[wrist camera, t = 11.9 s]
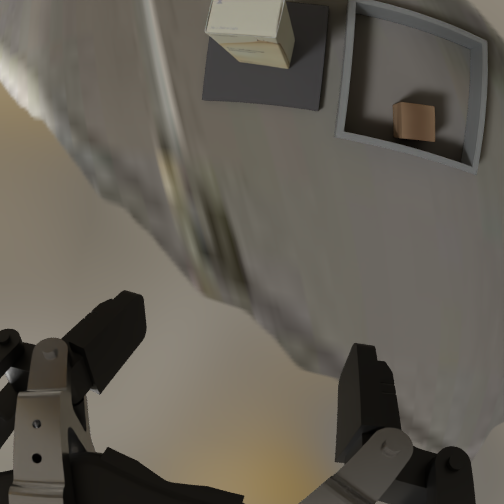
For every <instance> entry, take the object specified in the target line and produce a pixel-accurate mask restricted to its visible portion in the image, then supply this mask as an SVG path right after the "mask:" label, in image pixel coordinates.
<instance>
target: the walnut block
mask: <svg viewBox="0 0 504 504" xmlns="http://www.w3.org/2000/svg"><path fill="white" fill-rule="evenodd" d="M393 133H394V138H404V139H414V140H423V141H431V142H435V108H434V106H428V105H421V104H414V103H405V102H400V103H397V104H394V105H393Z"/></svg>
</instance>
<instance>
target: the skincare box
mask: <svg viewBox="0 0 504 504" xmlns="http://www.w3.org/2000/svg"><path fill="white" fill-rule="evenodd" d="M205 33H207V34H208V35H209V36H210V37H211V38H213V39H214V40H215V41H216V42H217V43H218V44H220V45H221V46H222V47H223V48H224V49H225V50H226V51H228V52H229V53H230V54H231V55H232V56H233V57H234V58H235V59H237V60H238V61H239V62H243V63H251V64H258V65H265V66H272V67H278V68H285V69H289V66H290V62H291V57H292V53H293V48H294V42H295V38H294V34H293V29H292V25H291V21H290V17H289V13H288V9H287V5H286V1H285V0H212V2H211V5H210V9H209V13H208V17H207V22H206V27H205Z"/></svg>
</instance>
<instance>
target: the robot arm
mask: <svg viewBox="0 0 504 504" xmlns="http://www.w3.org/2000/svg"><path fill="white" fill-rule="evenodd" d="M145 334H146V317H145V308H144V299H143V296H142V295H140V294H136V293H133V292H129V291H126V290H124V291H122V292H121V293H120V294H119V295H118V296H116V297H115V298H114V299H109V300H107V301H105V302H103V303H100V304H99V305H98V306H97V307H96V308H94V309H93V310H92V312H91V313H89V314H88V315H87V316H86V317H85V319H84V318H83V319H82V320H81V321H80V322H79V323H78V324H77V325H76V326H75V327H73V328H72V329H71V330H70V331H69V332H68V333H67V334H66V335H65V336H64V337H63V338H62V339H59V338H47V339H44V340H42V341H40V342H39V343H38V344H37V345H33V344H29V343H24V342H22V340H21V337H20V335H19V333H18V332H17V331H16V330H14V329H4V330H1V331H0V378H1V377H2V376H3V375H4V374H5V375H6V377H7V379H8V381H9V382H8V383H7V385H6V386H5V387H4V388H3V389H2V390H1V391H0V448H1V447H2V445H3V444H4V443H5V441H6V440H7V439H8V437H9V436H10V434H11V433H12V432H13V430H14V450H13V470H10V471H5V472H0V504H244V503H242V502H243V499H244V496H243V495H239V494H235V493H230V492H227V491H223V490H219V489H215V488H212V487H208V486H198V485H188V484H180V483H172V482H168V481H166V480H164V479H162V478H161V477H160V476H158V475H157V474H155V473H153V472H152V471H151V470H149V469H148V468H147V467H145V466H144V465H142V464H141V463H140V462H138V461H137V460H135V459H132V458H130V457H128V456H126V455H124V454H121V453H119V452H117V451H115V450H113V449H111V448H109V447H107V449H106V450H105V452H104V453H97V452H95V448H94V446H93V443H92V440H91V434H90V426H89V416H88V405H87V404H88V403H87V396H86V393H87V392H88V391H89V390H91V391H93V392H95V393H97V394H101V393H102V391H103V390H104V389H105V387H106V386H107V385H108V384H109V382H110V381H111V380H112V379H113V377H114V376H115V374H116V373H117V372H118V371H119V370H120V368H121V367H122V366H123V364H124V363H125V362H126V361H127V359H128V358H129V357H130V356H131V354H132V353H133V351H135V349H136V348H137V347H138V346H139V344H140V343H141V342H142V341H143V339H144V337H145ZM395 394H396V390H395V386H394V379H393V373H392V371H391V370H390V368H389V367H388V365H387V364H386V362H385V361H377V355H376V349H375V346H372V345H365V344H358V343H354V344H353V346H352V348H351V351H350V353H349V356H348V358H347V361H346V363H345V365H344V368H343V370H342V373H341V376H340V379H339V385H338V412H337V413H338V414H337V435H336V453H335V462H340V463H345V464H344V466H343V467H342V468H341V469H340V470H339V471H338V472H337V473H336V474H334V476H331V477H330V478H328V479H327V480H326V481H325V482H324V483H323V484H321V486H319V487H318V488H317V489H316V490H314V491H313V492H312V493H311V494H310V495H309V496H307V497H306V498H305V499H304V500H303V501H301V502H300V503H299V504H375V503H376V502H377V501H381V502H385V503H388V504H476V503H475V492H474V483H473V475H472V468H471V462H470V459H469V457H468V455H467V454H466V453H465V452H464V451H463V450H462V449H460V448H458V447H453V446H450V447H445V448H443V449H442V450H441V451H440V452H439V453H438V454H436V453H432V452H429V451H425V450H422V449H419V448H416V447H415V446H413V444H412V441H411V439H410V438H409V436H408V435H407V434H406V433H404V432H403V431H402V430H401V424H400V416H399V409H398V403H397V396H396V395H395Z"/></svg>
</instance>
